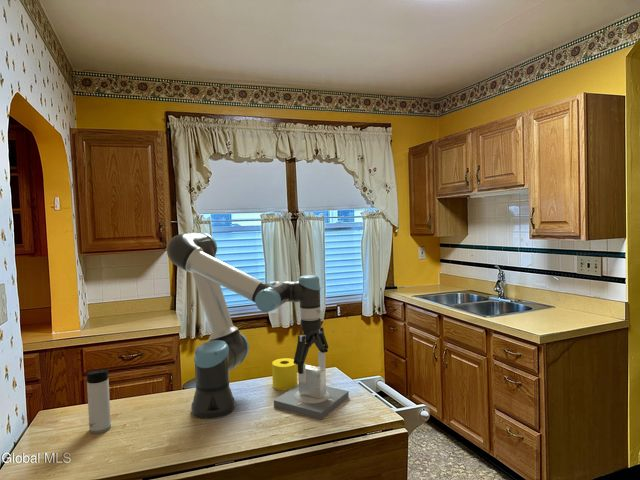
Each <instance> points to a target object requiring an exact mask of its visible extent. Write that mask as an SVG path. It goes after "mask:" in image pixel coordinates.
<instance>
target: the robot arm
mask: <svg viewBox="0 0 640 480" xmlns="http://www.w3.org/2000/svg"><path fill="white" fill-rule="evenodd" d="M217 252H218V244H217V242H216V239H215V238H214V237H213V236H212V235H210V234H209V233H206V232H201V231H196V232H189V233H180V234H177V235H175V236H173V237H172V238H171V239H170V240H169V242H168V243H167V247H166V254H167V256H168V259H169V261H170V262H171V263H172V264H173V265H175V266H176V267H178V268H180V269H182V270H184V271H186V272H187V273H190V274H192V276H193V279H194V283H195V286H196V289H197V292H198V295H199V298H200V301H201V304H202V307H203V310H204V314H205V317H206V320H207V323H208V326H209V329H210V336H209V337H208V341H206V342H202V343H201V344H198V346H197V347H196V348H195V351H194V356H193V358H194V361H193V362H194V374H195V379H194V380H195V392H194V395H193V396H194V397H193V401H192V402H191V405H190V406H191V410H190V411H191V414H192V416H194V417H195V418H198V419H206V420H207V419H208V420H209V419H218V418H220V417H224V416H227V415H228V414H230V413H232V412H233V411H234V410H235V408H236V400H235V397H234V396H233V393H232V390H231V387H230V372H231V371H232V370H234V368H236V367H237V366H239V365H240V364H241V363H243V361H244V360H245V359H246V358H247V356H248V354H249V351H250V345H249V341H248V339H247V338H246V336H245V335H243V333H241V332H240V330H239V327H237V326H235V325H234V323H233V321H232V317H231V314H230V312H229V308H228V305H227V302H226V300H225V296H224V293H223V290H222V287H223V288H226V289H228V290H230V291H231V292H233V293H235V294H237V295H238V296H239V295H240V296H241V297H243V298H245V299H247V300H249V301H251V302H253V303H255V306H256V307H257V309H259V311H261V312H264V313H267V312H272V311H275V310H277V309H278V308H279V307H280V306H282V305H283V304H286V303H299V317H300V329H301V330H302V331H303V333H302V334H303V335H302V334H300V335H297V345H296V347H295V348H296V350H295V352H294V358H293V359H294V362H293V363H294V364H297V380H298V383H299V382H304V383H305V382H306V365H307V363H305V361H306V359H307V356H308V353H309V350H310V348H311V347H312V345H315V346H316V348H317V349H318V351H317V363H318V366H317V367H320V368H325V370H327V369H326V368H327V367H326V353H328V351H329V344H328V341H327V338H326V336H325V331H324V327H323V326H322V319H321V316H322V315H321V313H322V311H321V310H322V309H321V287H320V286H321V283H320V278H319V276H318V275H313V274H311V275H310V274H307V275H301V276H299V277H298V281H290V280H289V281H285V280H283V281H282V280H276V281H275V280H274V281H270V282H269V283H266V282H264V281H262V280H261V279H258V278H257V277H254V276H252V275H250V274H248V273H247V272H244V271H242V270H240V269H237V268H236V267H234V266H233V265H230V264H228V263H226V262H224V261H222V260H220V259H218V258H216V255H217Z"/></svg>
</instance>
